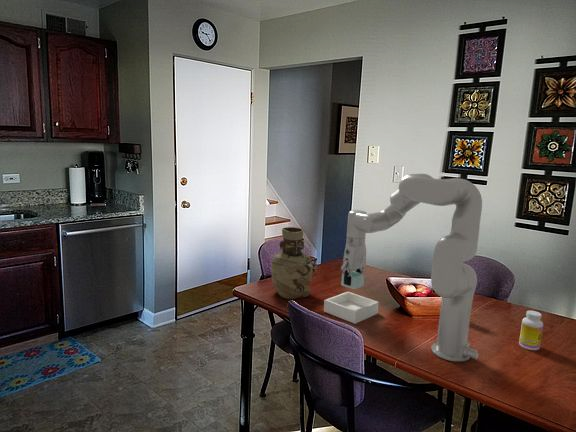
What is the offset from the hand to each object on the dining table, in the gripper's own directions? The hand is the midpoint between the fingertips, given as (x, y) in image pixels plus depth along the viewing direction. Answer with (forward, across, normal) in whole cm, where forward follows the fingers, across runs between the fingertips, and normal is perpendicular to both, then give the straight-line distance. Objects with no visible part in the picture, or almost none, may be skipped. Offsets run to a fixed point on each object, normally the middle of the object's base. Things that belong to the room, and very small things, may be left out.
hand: (352, 282), depth 179 cm
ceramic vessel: (+13, -3, +32) cm, 35 cm away
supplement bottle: (+13, +25, -61) cm, 67 cm away
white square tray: (+13, 0, 0) cm, 13 cm away
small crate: (+1, 0, 0) cm, 1 cm away
